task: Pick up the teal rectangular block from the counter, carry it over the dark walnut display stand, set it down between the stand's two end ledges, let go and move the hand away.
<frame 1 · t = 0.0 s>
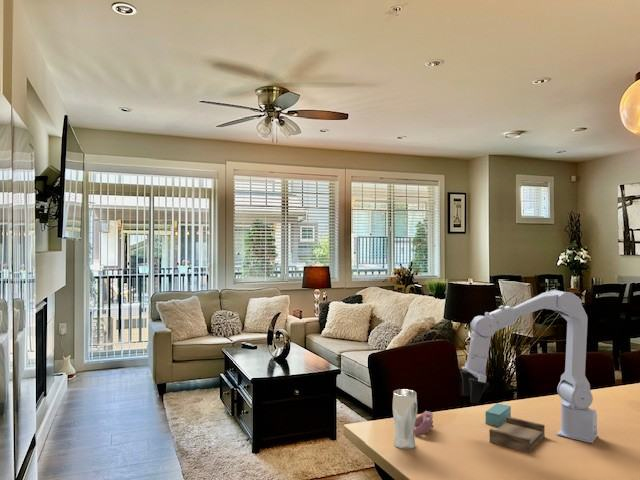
hand: (470, 399, 144), 11 cm above the table, tool pointing down, fingers open, 7 cm apart
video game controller: (423, 431, 146), on the table
teal rectangular block: (498, 420, 155), on the table
beer glass: (404, 445, 135), on the table
display stand: (517, 439, 140), on the table
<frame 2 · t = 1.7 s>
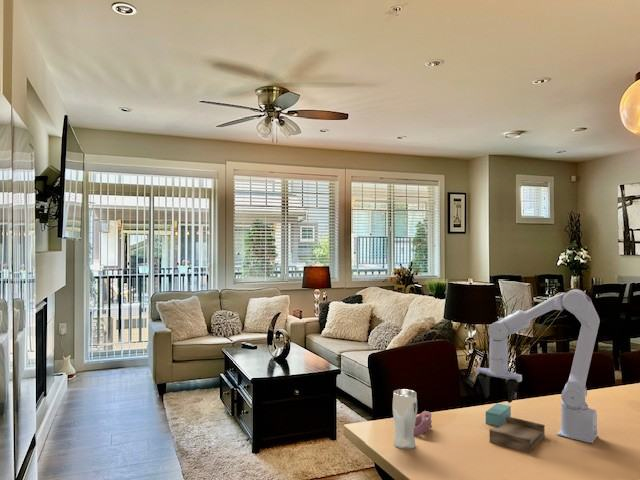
hand: (498, 399, 156), 7 cm above the table, tool pointing down, fingers open, 7 cm apart
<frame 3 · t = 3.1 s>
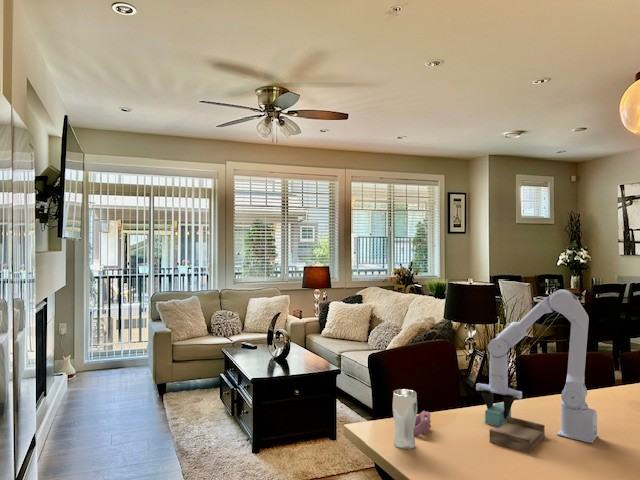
hand: (498, 415, 155), 1 cm above the table, tool pointing down, fingers closed on teal rectangular block, 4 cm apart
teal rectangular block: (498, 420, 155), on the table, touching gripper
everything else where it was.
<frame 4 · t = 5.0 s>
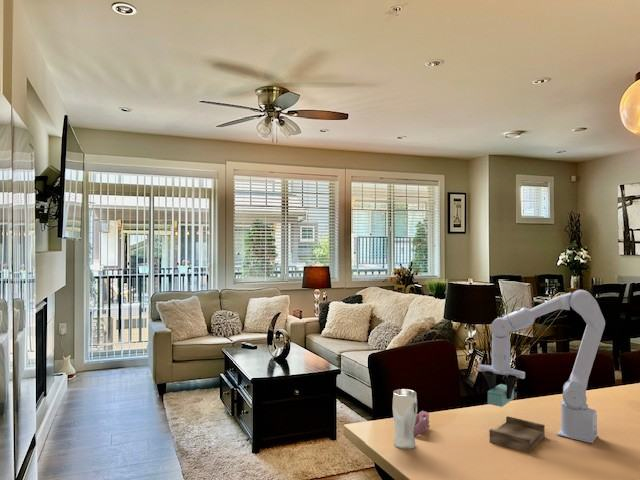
hand: (501, 396, 153), 8 cm above the table, tool pointing down, fingers closed on teal rectangular block, 4 cm apart
teal rectangular block: (501, 401, 153), point 7 cm above the table, touching gripper
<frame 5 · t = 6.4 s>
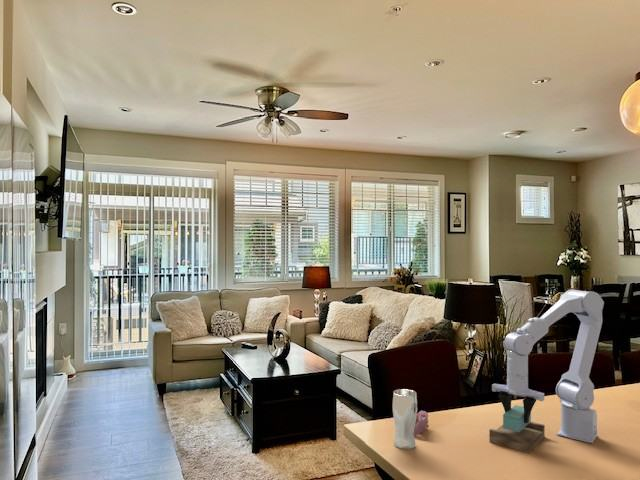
hand: (517, 419, 140), 6 cm above the table, tool pointing down, fingers closed on teal rectangular block, 4 cm apart
teal rectangular block: (517, 424, 140), point 4 cm above the table, touching gripper
when the fingers open (5 cm above the table, at t = 7.1 s): teal rectangular block drops 1 cm, resting on display stand.
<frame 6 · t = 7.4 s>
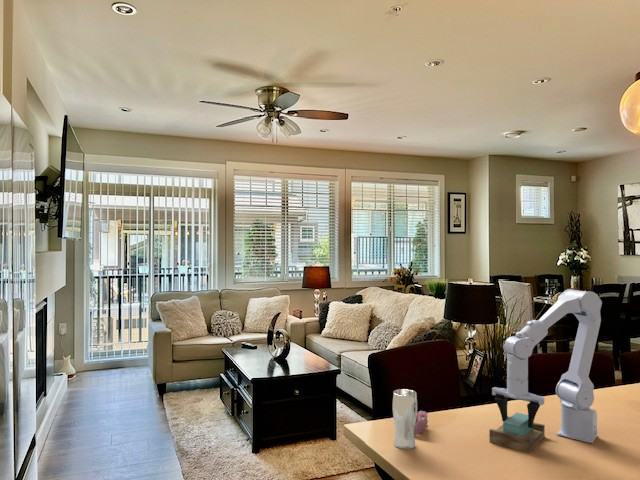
hand: (517, 423, 140), 5 cm above the table, tool pointing down, fingers open, 7 cm apart
teal rectangular block: (517, 432, 140), point 2 cm above the table, touching display stand
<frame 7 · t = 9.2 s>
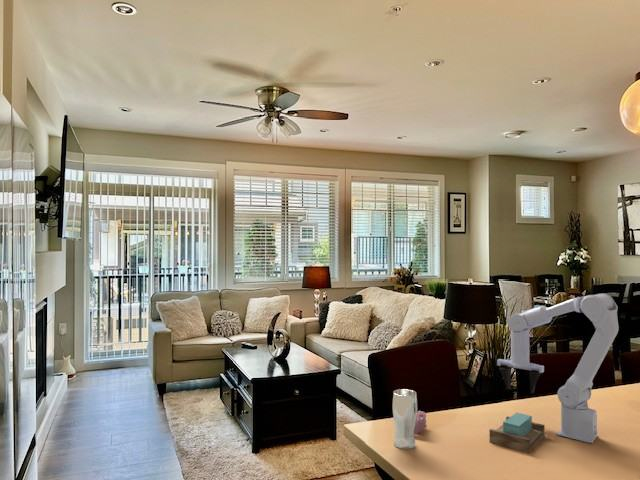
hand: (520, 390, 157), 9 cm above the table, tool pointing down, fingers open, 7 cm apart
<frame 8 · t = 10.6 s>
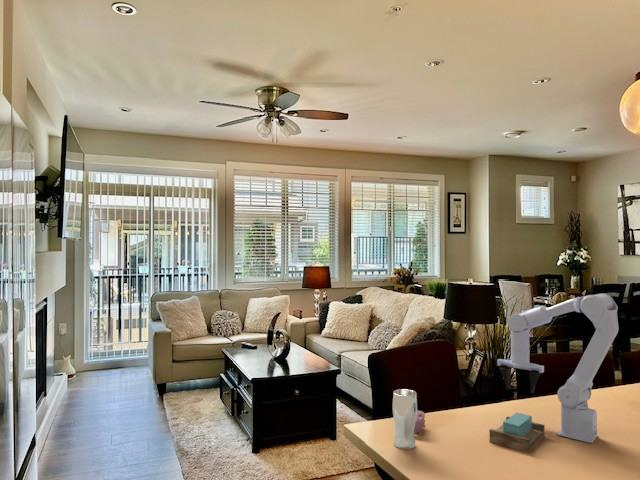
hand: (520, 390, 157), 9 cm above the table, tool pointing down, fingers open, 7 cm apart
at the end: teal rectangular block 0.1 cm off-centre on the display stand, point 2.0 cm above the display stand's base; teal rectangular block tilted 0°; the gripper is holding nothing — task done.
